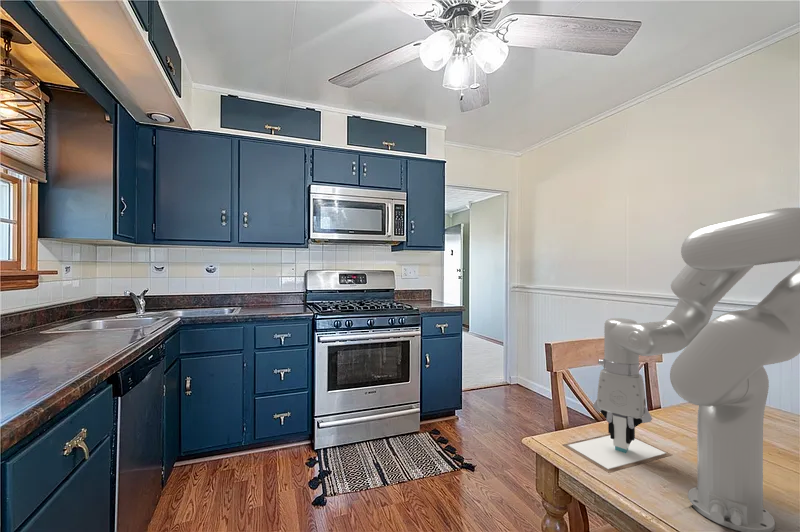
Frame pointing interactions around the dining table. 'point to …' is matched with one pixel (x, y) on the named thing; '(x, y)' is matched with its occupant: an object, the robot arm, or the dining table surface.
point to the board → (620, 466)
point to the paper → (615, 452)
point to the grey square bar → (620, 432)
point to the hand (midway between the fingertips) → (621, 438)
